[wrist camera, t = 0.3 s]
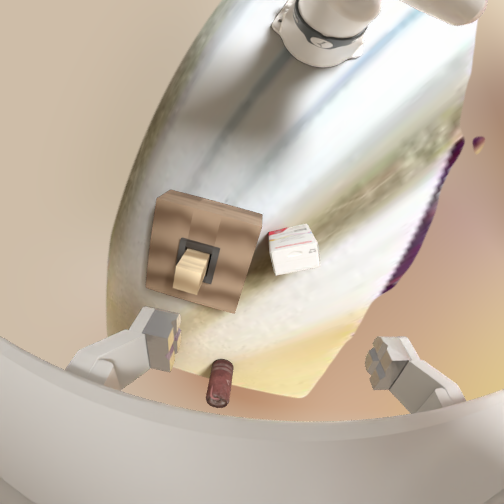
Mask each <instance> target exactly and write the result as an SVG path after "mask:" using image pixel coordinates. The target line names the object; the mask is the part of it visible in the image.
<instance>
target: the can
mask: <svg viewBox="0 0 504 504" xmlns="http://www.w3.org/2000/svg"><path fill="white" fill-rule="evenodd" d="M232 375H233V365H232V363H231V362H229V361H228V360H225V359H219V360H216V361H215V362H214V363H213V366H212V370H211V375H210V380H209V385H208V390H207V394H206V400H207V403H208V404H209V405H210V406H212V407H216V408H223V407H225V406H227V404H228V403H229V398H230V391H231V383H232Z"/></svg>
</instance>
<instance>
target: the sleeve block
mask: <svg viewBox="0 0 504 504" xmlns="http://www.w3.org/2000/svg"><path fill="white" fill-rule="evenodd" d="M261 229H262V214H259V213H256V212H252V211H249V210H245V209H242V208H238V207H234V206H231V205H227V204H224V203H220V202H216V201H212V200H209V199H205V198H201V197H197V196H193V195H189V194H186V193H182V192H178V191H174V190H169V191H168V192H166V193H164V194H163V195H161V196H160V197H158V198H157V200H156V206H155V212H154V219H153V226H152V233H151V240H150V248H149V257H148V266H147V277H146V288H148V289H151V290H154V291H158V292H161V293H164V294H167V295H170V296H174V297H177V298H180V299H184V300H187V301H190V302H194V303H197V304H201V305H204V306H208V307H212V308H215V309H219V310H223V311H226V312H230V313H234V314H235V311H236V308H237V305H238V301H239V298H240V295H241V292H242V289H243V286H244V282H245V279H246V276H247V273H248V270H249V267H250V263H251V260H252V257H253V254H254V251H255V248H256V244H257V241H258V238H259V235H260V232H261ZM187 248H192V249H195V250H199V251H202V252H206V253H209V254H212V256H211V257H210V259H209V263H208V267H207V271H206V274H205V276H204V279H203V281H202V284H201V286H200V289H199V291H198V294H197V295H195V294H192V293H188V292H185V291H181V290H178V289H175V288H173V283H174V276H175V270H176V266H177V264H178V262H179V261H180V259H181V258H182V256H183V255H184V253H185V251H186V250H187Z"/></svg>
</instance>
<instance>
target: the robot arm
mask: <svg viewBox="0 0 504 504" xmlns="http://www.w3.org/2000/svg"><path fill="white" fill-rule="evenodd" d="M400 1H402V2H404V3H406V4H408V5H409V6H411V7H413V8H415V9H417V10H419V11H421V12H424V13H426V14H428V15H430V16H433V17H435V18H437V19H439V20H442V21H444V22H446V23H448V24H450V25H454V26H459V25H466V24H469V23H472V22H474V21H476V20H477V19H479V18H480V16H481V15H482V14H483V13H484V11H485V9H486V6H487V0H400ZM381 8H382V0H288V1H287V3H286V4H285V6H284V7H283V8H282V10H281V11H280V13H279V14H278V16H277V17H276V18H275V20H274V21H273V23H272V28H273V29H274V30H275V32H277V33H278V34H279V35H280V36H281V38H282V40H283V43H284V45H285V47H286V48H287V50H288V51H289V52H290V53H291V54H292V55H293V56H294V57H295V58H297V59H298V60H300V61H301V62H303V63H305V64H308V65H311V66H315V67H332V66H335V65H338V64H340V63H342V62H343V61H345V60H347V59H351V58H358V57H360V56H361V54H362V44H363V43H364V40H363V34H364V33H365V31H366V29H367V26H368V25H369V24H370V23H371V22H372V21H373V20H374V19H375V18H376V17H377V16H378V15H379V13H380V11H381ZM279 21H282V22H279ZM180 324H181V315H180V314H179V313H175V312H170V311H165V310H161V309H156V308H152V307H147V306H144V307H143V308H142V309H141V311H140V312H139V314H138V315H137V317H136V319H135V320H134V322H133V323H132V325H131V327H130V328H129V330H126V329H125V330H122V331H120V332H118V333H116V334H114V335H111V336H109V337H107V338H105V339H103V340H100V341H98V342H96V343H94V344H92V345H89V346H87V347H85V348H83V349H80V350H78V352H77V353H76V355H75V356H74V358H73V359H72V361H71V362H70V363H69V365H68V366H67V368H66V369H65V370H64V369H62V368H59V367H57V366H55V365H52V364H50V363H48V362H47V361H44V360H42V359H40V358H38V357H37V356H35V355H33V354H31V353H29V352H27V351H25V350H23V349H22V348H20V347H18V346H16V345H14V344H13V343H11V342H10V341H8V340H7V339H5V338H3V337H0V504H504V389H502V390H500V391H497V392H494V393H491V394H488V395H486V396H483V397H479V398H476V399H473V400H469V401H466V400H465V398H464V396H463V394H462V392H461V390H460V389H459V387H458V385H457V384H456V383H454V382H453V381H452V380H450V379H449V378H448V377H446V376H445V375H443V374H442V373H441V372H439V371H438V370H436V369H435V368H434V367H432V366H431V365H429V364H428V363H427V362H425V361H424V360H420V358H419V357H418V355H417V353H416V351H415V349H414V348H413V346H412V344H411V342H410V341H409V339H408V338H407V337H377V338H376V339H375V340H374V342H373V346H374V347H373V348H372V349H371V350H369V352H368V354H367V356H366V360H365V367H366V370H367V372H368V373H369V374H370V375H371V377H370V382H371V385H372V388H373V389H374V390H389V391H390V392H391V393H392V394H393V395H394V396H395V397H396V398H397V399H398V400H399V401H400V402H401V403H402V404H403V405H404V407H405V408H406V409H407V410H408V411H409V412H410V413H411V414H406V415H400V416H393V417H385V418H376V419H366V420H353V421H352V420H351V421H327V422H304V421H302V422H301V421H277V420H264V419H252V418H243V417H235V416H227V415H220V414H213V413H207V412H202V411H196V410H191V409H187V408H182V407H177V406H173V405H168V404H164V403H160V402H156V401H152V400H149V399H145V398H141V397H138V396H135V395H131V394H128V393H125V392H122V391H121V390H122V389H123V388H125V387H126V386H127V385H129V384H130V383H132V382H133V381H134V380H136V379H137V378H138V377H139V376H141V375H142V374H144V373H145V372H147V371H148V370H149V369H150V368H153V369H158V370H162V371H167V372H171V370H172V367H173V364H174V361H175V354H176V353H178V350H179V347H180V342H181V330H180V328H179V326H180Z"/></svg>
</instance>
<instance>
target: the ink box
mask: <svg viewBox="0 0 504 504" xmlns="http://www.w3.org/2000/svg"><path fill="white" fill-rule="evenodd" d="M268 238H269V251H270V257H271V261H272V266H273V269H274V273H275V275H276V276H277V275H282V274H287V273H293V272H298V271H303V270H308V269H313V268H318V267H320V254H319V247H318V243H317V241H316V239H315V237H314V235H313V233H312V232H311V230H310V228H309V226H308V224H301V225H297V226H293V227H288V228H284V229H280V230H276V231H271V232H269V233H268Z"/></svg>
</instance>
